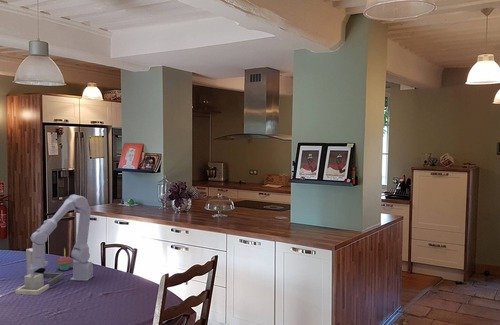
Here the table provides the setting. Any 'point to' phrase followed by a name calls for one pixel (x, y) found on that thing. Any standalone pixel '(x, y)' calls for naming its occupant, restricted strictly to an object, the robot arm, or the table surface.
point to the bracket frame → (31, 292)
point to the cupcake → (64, 262)
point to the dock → (55, 277)
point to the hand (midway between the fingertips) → (38, 283)
